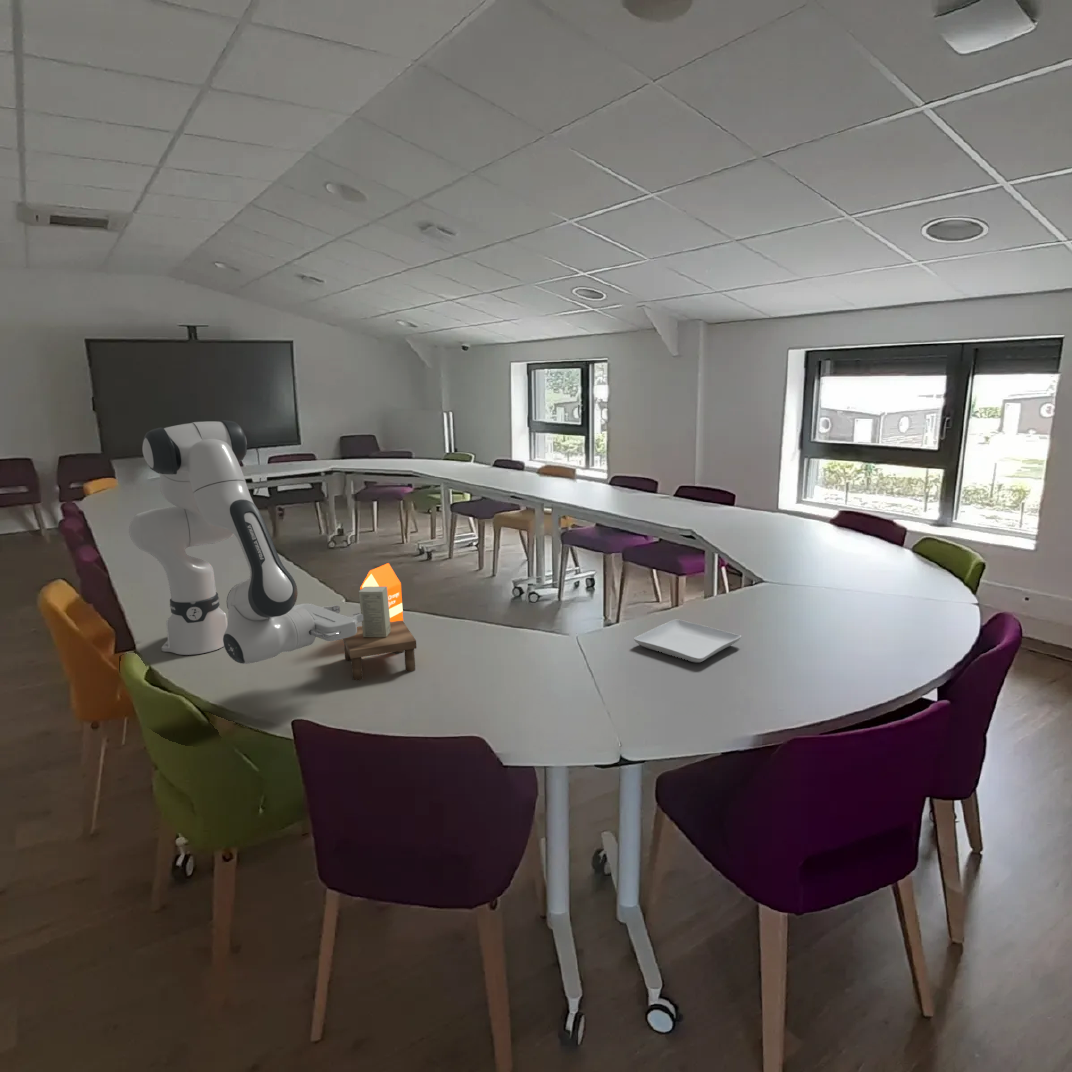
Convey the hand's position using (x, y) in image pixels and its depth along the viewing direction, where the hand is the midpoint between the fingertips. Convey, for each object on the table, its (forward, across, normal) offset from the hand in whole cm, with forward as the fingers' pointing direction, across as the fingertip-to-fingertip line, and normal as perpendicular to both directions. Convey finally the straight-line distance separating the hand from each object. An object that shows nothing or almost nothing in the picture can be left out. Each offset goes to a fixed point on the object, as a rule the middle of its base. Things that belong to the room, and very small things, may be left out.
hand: (349, 612), depth 171 cm
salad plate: (+67, -55, +17) cm, 88 cm away
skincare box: (+8, 0, +8) cm, 11 cm away
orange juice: (+22, +16, +16) cm, 32 cm away
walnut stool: (+8, 0, +16) cm, 18 cm away
